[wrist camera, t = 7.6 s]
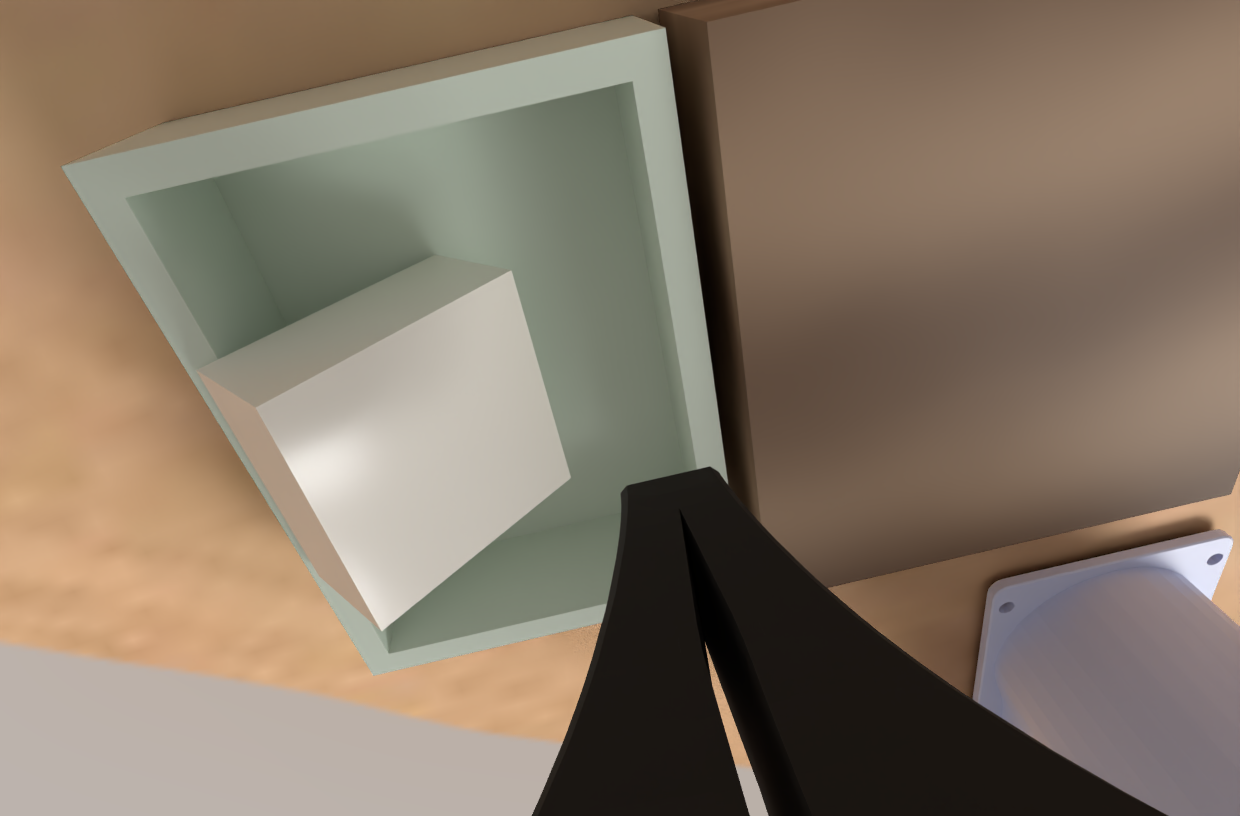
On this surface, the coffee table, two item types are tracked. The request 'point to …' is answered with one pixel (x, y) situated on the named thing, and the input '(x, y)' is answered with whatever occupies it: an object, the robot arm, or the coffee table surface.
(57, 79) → the coffee table surface
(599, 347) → the sage box
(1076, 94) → the brown flat block
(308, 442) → the cream block
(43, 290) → the coffee table surface
